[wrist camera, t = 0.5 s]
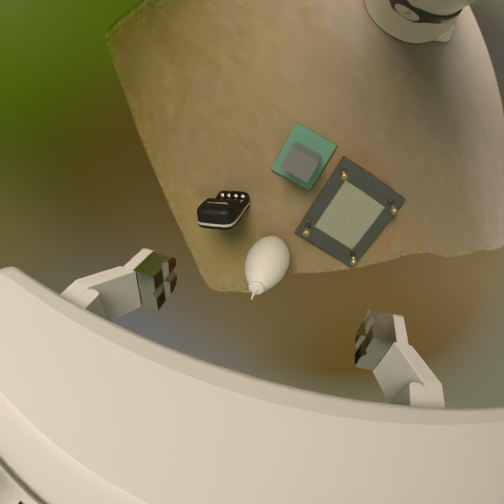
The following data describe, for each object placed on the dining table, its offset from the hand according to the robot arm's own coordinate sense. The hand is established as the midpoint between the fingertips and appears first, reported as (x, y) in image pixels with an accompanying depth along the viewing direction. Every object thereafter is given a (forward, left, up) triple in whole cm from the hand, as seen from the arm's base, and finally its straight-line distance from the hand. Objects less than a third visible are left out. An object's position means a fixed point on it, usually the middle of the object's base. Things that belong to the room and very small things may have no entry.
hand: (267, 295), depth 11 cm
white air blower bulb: (+23, +3, -42) cm, 48 cm away
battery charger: (+18, -9, -42) cm, 46 cm away
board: (+4, -1, -42) cm, 42 cm away
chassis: (+9, +12, -42) cm, 44 cm away
